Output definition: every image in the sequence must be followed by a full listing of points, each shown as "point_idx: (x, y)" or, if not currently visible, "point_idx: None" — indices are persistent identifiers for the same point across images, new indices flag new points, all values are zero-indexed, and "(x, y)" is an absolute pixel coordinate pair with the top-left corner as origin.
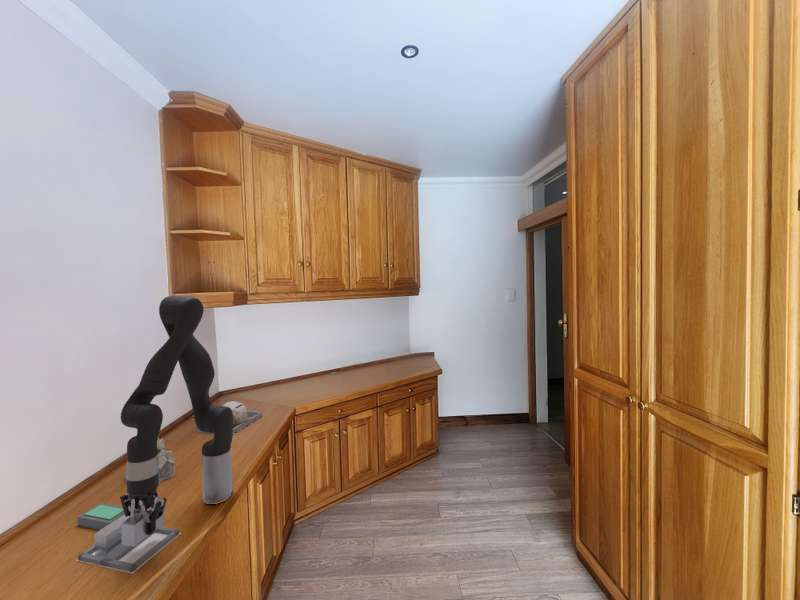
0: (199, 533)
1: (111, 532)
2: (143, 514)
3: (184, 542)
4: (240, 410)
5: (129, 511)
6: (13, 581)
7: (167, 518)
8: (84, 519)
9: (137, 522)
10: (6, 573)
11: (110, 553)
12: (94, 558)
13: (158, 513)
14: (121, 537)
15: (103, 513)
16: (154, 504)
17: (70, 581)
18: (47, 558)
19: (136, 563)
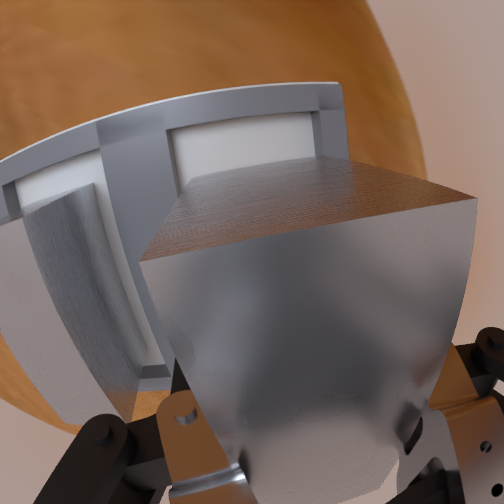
0: (387, 47)
1: (116, 409)
2: (402, 482)
3: (377, 117)
4: None
5: (143, 488)
6: (53, 421)
7: (102, 17)
8: None
9: (383, 479)
10: (18, 408)
11: (166, 359)
12: (143, 389)
13: (497, 373)
14: (109, 311)
15: None
16: (500, 456)
17: (157, 407)
18: (8, 368)
19: None
